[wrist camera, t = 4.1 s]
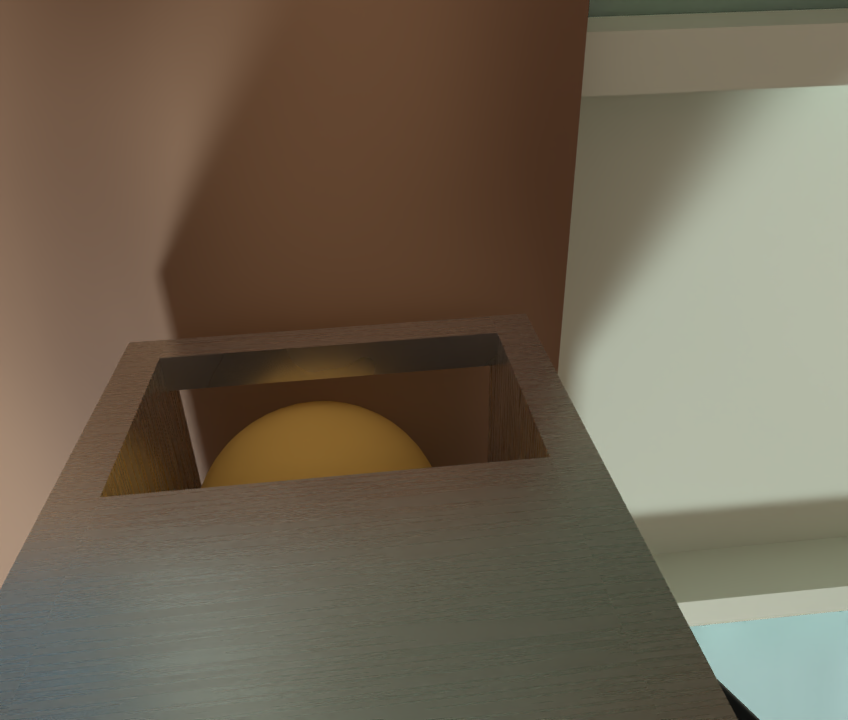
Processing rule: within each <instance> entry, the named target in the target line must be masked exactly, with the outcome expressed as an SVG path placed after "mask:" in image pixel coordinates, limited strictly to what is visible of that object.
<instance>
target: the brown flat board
mask: <svg viewBox="0 0 848 720" xmlns="http://www.w3.org/2000/svg"><path fill="white" fill-rule="evenodd" d="M588 12H589V0H0V589H1V587H2V585H3V583H4V581H5V579H6V577H7V575H8V573H9V571H10V570H11V568H12V566H13V564H14V562H15V560H16V558H17V556H18V554H19V552H20V550H21V548H22V547H23V545H24V543H25V541H26V539H27V537H28V535H29V533H30V531H31V529H32V527H33V526H34V524H35V522H36V520H37V518H38V516H39V514H40V512H41V510H42V508H43V506H44V505H45V503H46V501H47V499H48V497H49V495H50V493H51V491H52V489H53V487H54V485H55V483H56V482H57V480H58V478H59V476H60V474H61V472H62V470H63V468H64V466H65V464H66V462H67V461H68V459H69V457H70V455H71V453H72V451H73V449H74V447H75V445H76V443H77V441H78V439H79V438H80V436H81V434H82V432H83V430H84V428H85V426H86V424H87V422H88V420H89V418H90V417H91V415H92V413H93V411H94V409H95V407H96V405H97V403H98V401H99V399H100V397H101V396H102V394H103V392H104V390H105V388H106V386H107V384H108V382H109V380H110V378H111V376H112V374H113V373H114V371H115V369H116V367H117V365H118V363H119V361H120V359H121V357H122V355H123V353H124V352H125V350H126V348H127V346H128V344H129V343H130V342H144V341H157V340H171V339H185V338H199V337H212V336H226V335H240V334H253V333H267V332H281V331H294V330H308V329H322V328H335V327H349V326H363V325H376V324H390V323H404V322H417V321H431V320H445V319H458V318H472V317H486V316H499V315H513V314H526V315H527V317H528V319H529V321H530V323H531V324H532V326H533V328H534V330H535V332H536V334H537V336H538V338H539V340H540V342H541V344H542V346H543V347H544V349H545V351H546V353H547V355H548V357H549V359H550V361H551V363H552V365H553V367H554V368H555V370H556V372H557V374H558V365H559V353H560V341H561V329H562V318H563V306H564V294H565V282H566V271H567V259H568V247H569V235H570V223H571V212H572V200H573V188H574V176H575V165H576V153H577V141H578V129H579V118H580V106H581V94H582V82H583V70H584V59H585V47H586V35H587V23H588ZM179 391H180V396H181V400H182V404H183V408H184V413H185V417H186V421H187V425H188V430H189V434H190V438H191V442H192V447H193V451H194V455H195V459H196V464H197V468H198V472H199V476H200V481H201V485H202V484H203V482H204V479H205V477H206V475H207V473H208V471H209V469H210V468H211V466H212V464H213V462H214V461H215V459H216V458H217V456H218V455H219V454H220V453H221V451H222V450H223V449H224V447H225V446H226V445H227V444H228V443H229V442H230V441H231V440H232V439H233V438H234V437H235V436H236V435H237V434H238V433H239V432H240V431H242V430H243V429H244V428H246V427H247V426H248V425H250V424H251V423H252V422H254V421H256V420H257V419H259V418H261V417H263V416H264V415H266V414H268V413H271V412H273V411H276V410H278V409H280V408H284V407H287V406H291V405H294V404H298V403H305V402H312V401H335V402H343V403H349V404H353V405H356V406H360V407H363V408H366V409H368V410H370V411H373V412H375V413H378V414H380V415H381V416H383V417H385V418H386V419H388V420H390V421H392V422H393V423H394V424H395V425H397V426H398V427H399V428H401V429H402V430H403V431H404V432H405V433H407V434H408V436H409V437H410V438H411V439H412V440H413V441H414V442H415V443H416V444H417V445H418V446H419V448H420V449H421V451H422V452H423V454H424V455H425V456H426V458H427V459H428V461H429V463H430V464H431V466H432V467H443V466H454V465H465V464H476V463H487V456H488V410H489V366H479V367H466V368H454V369H441V370H428V371H415V372H403V373H390V374H377V375H365V376H352V377H339V378H327V379H314V380H301V381H288V382H276V383H263V384H250V385H238V386H225V387H212V388H199V389H187V390H179Z"/></svg>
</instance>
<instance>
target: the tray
mask: <svg viewBox="0 0 848 720" xmlns="http://www.w3.org/2000/svg"><path fill="white" fill-rule="evenodd" d="M558 376H559V378H560V380H561V382H562V384H563V386H564V388H565V390H566V391H567V393H568V395H569V397H570V399H571V401H572V403H573V405H574V407H575V409H576V411H577V413H578V414H579V416H580V418H581V420H582V422H583V424H584V426H585V428H586V430H587V432H588V434H589V436H590V437H591V439H592V441H593V443H594V445H595V447H596V449H597V451H598V453H599V455H600V457H601V458H602V460H603V462H604V464H605V466H606V468H607V470H608V472H609V474H610V476H611V478H612V480H613V481H614V483H615V485H616V487H617V489H618V491H619V493H620V495H621V497H622V499H623V501H624V503H625V504H626V506H627V508H628V510H629V512H630V514H631V516H632V518H633V520H634V522H635V524H636V525H637V527H638V529H639V531H640V533H641V535H642V537H643V539H644V541H645V543H646V545H647V547H648V548H649V550H650V552H651V554H652V556H653V558H654V560H655V562H656V564H657V566H658V568H659V570H660V571H661V573H662V575H663V577H664V579H665V581H666V583H667V585H668V587H669V589H670V591H671V593H672V594H673V596H674V598H675V600H676V602H677V604H678V606H679V608H680V610H681V612H682V614H683V615H684V617H685V619H686V621H687V623H688V625H689V627H690V626H700V625H709V624H719V623H729V622H738V621H748V620H758V619H768V618H777V617H787V616H797V615H807V614H816V613H826V612H836V611H845V610H848V8H837V9H808V10H779V11H750V12H720V13H691V14H662V15H633V16H604V17H588V23H587V35H586V47H585V59H584V70H583V82H582V94H581V106H580V118H579V129H578V141H577V153H576V165H575V176H574V188H573V200H572V212H571V223H570V235H569V247H568V259H567V271H566V282H565V294H564V306H563V318H562V329H561V341H560V353H559V365H558Z"/></svg>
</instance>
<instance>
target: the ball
mask: <svg viewBox="0 0 848 720" xmlns="http://www.w3.org/2000/svg"><path fill="white" fill-rule="evenodd" d="M431 467H432V466H431V464H430V463H429V461H428V459H427V458H426V456H425V455H424V454H423V452H422V451H421V449H420V448H419V446H418V445H417V444H416V443H415V442H414V441H413V440H412V439H411V438H410V437H409V436H408V434H407V433H405V432H404V431H403V430H402V429H401V428H399V427H398V426H397V425H395V424H394V423H393V422H392V421H390V420H388V419H386V418H385V417H383V416H381V415H380V414H378V413H375V412H373V411H370V410H368V409H366V408H363V407H360V406H356V405H353V404H349V403H343V402H335V401H312V402H305V403H298V404H294V405H291V406H287V407H284V408H280V409H278V410H276V411H273V412H271V413H268V414H266V415H264V416H263V417H261V418H259V419H257V420H256V421H254V422H252V423H251V424H250V425H248V426H247V427H246V428H244V429H243V430H242V431H240V432H239V433H238V434H237V435H236V436H235V437H234V438H233V439H232V440H231V441H230V442H229V443H228V444H227V445H226V446H225V447H224V449H223V450H222V451H221V453H220V454H219V455H218V456H217V458H216V459H215V461H214V462H213V464H212V466H211V468H210V469H209V471H208V473H207V475H206V477H205V479H204V482H203V484H202V486H201V488H208V487H219V486H230V485H241V484H253V483H264V482H275V481H286V480H297V479H308V478H320V477H331V476H342V475H353V474H364V473H375V472H387V471H398V470H409V469H420V468H431Z"/></svg>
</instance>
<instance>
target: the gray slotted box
mask: <svg viewBox="0 0 848 720" xmlns="http://www.w3.org/2000/svg"><path fill="white" fill-rule="evenodd" d="M479 366H489V410H488V456H487V463H476V464H465V465H454V466H443V467H431V468H420V469H409V470H398V471H387V472H375V473H364V474H353V475H342V476H331V477H320V478H308V479H297V480H286V481H275V482H264V483H253V484H241V485H230V486H219V487H208V488H201V486H202V485H201V481H200V476H199V472H198V468H197V464H196V459H195V455H194V451H193V447H192V442H191V438H190V434H189V430H188V425H187V421H186V417H185V413H184V408H183V404H182V400H181V396H180V391H179V390H187V389H199V388H212V387H225V386H238V385H250V384H263V383H276V382H288V381H301V380H314V379H327V378H339V377H352V376H365V375H377V374H390V373H403V372H415V371H428V370H441V369H454V368H466V367H479ZM0 720H738V719H737V717H736V715H735V713H734V711H733V709H732V707H731V705H730V704H729V702H728V700H727V698H726V696H725V694H724V692H723V690H722V688H721V686H720V684H719V683H718V681H717V679H716V677H715V675H714V673H713V671H712V669H711V667H710V665H709V663H708V661H707V660H706V658H705V656H704V654H703V652H702V650H701V648H700V646H699V644H698V642H697V640H696V638H695V637H694V635H693V633H692V631H691V629H690V627H689V625H688V623H687V621H686V619H685V617H684V615H683V614H682V612H681V610H680V608H679V606H678V604H677V602H676V600H675V598H674V596H673V594H672V593H671V591H670V589H669V587H668V585H667V583H666V581H665V579H664V577H663V575H662V573H661V571H660V570H659V568H658V566H657V564H656V562H655V560H654V558H653V556H652V554H651V552H650V550H649V548H648V547H647V545H646V543H645V541H644V539H643V537H642V535H641V533H640V531H639V529H638V527H637V525H636V524H635V522H634V520H633V518H632V516H631V514H630V512H629V510H628V508H627V506H626V504H625V503H624V501H623V499H622V497H621V495H620V493H619V491H618V489H617V487H616V485H615V483H614V481H613V480H612V478H611V476H610V474H609V472H608V470H607V468H606V466H605V464H604V462H603V460H602V458H601V457H600V455H599V453H598V451H597V449H596V447H595V445H594V443H593V441H592V439H591V437H590V436H589V434H588V432H587V430H586V428H585V426H584V424H583V422H582V420H581V418H580V416H579V414H578V413H577V411H576V409H575V407H574V405H573V403H572V401H571V399H570V397H569V395H568V393H567V391H566V390H565V388H564V386H563V384H562V382H561V380H560V378H559V376H558V374H557V372H556V370H555V368H554V367H553V365H552V363H551V361H550V359H549V357H548V355H547V353H546V351H545V349H544V347H543V346H542V344H541V342H540V340H539V338H538V336H537V334H536V332H535V330H534V328H533V326H532V324H531V323H530V321H529V319H528V317H527V315H526V314H513V315H499V316H486V317H472V318H458V319H445V320H431V321H417V322H404V323H390V324H376V325H363V326H349V327H335V328H322V329H308V330H294V331H281V332H267V333H253V334H240V335H226V336H212V337H199V338H185V339H171V340H157V341H144V342H130V343H129V344H128V346H127V348H126V350H125V352H124V353H123V355H122V357H121V359H120V361H119V363H118V365H117V367H116V369H115V371H114V373H113V374H112V376H111V378H110V380H109V382H108V384H107V386H106V388H105V390H104V392H103V394H102V396H101V397H100V399H99V401H98V403H97V405H96V407H95V409H94V411H93V413H92V415H91V417H90V418H89V420H88V422H87V424H86V426H85V428H84V430H83V432H82V434H81V436H80V438H79V439H78V441H77V443H76V445H75V447H74V449H73V451H72V453H71V455H70V457H69V459H68V461H67V462H66V464H65V466H64V468H63V470H62V472H61V474H60V476H59V478H58V480H57V482H56V483H55V485H54V487H53V489H52V491H51V493H50V495H49V497H48V499H47V501H46V503H45V505H44V506H43V508H42V510H41V512H40V514H39V516H38V518H37V520H36V522H35V524H34V526H33V527H32V529H31V531H30V533H29V535H28V537H27V539H26V541H25V543H24V545H23V547H22V548H21V550H20V552H19V554H18V556H17V558H16V560H15V562H14V564H13V566H12V568H11V570H10V571H9V573H8V575H7V577H6V579H5V581H4V583H3V585H2V587H1V589H0Z"/></svg>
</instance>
